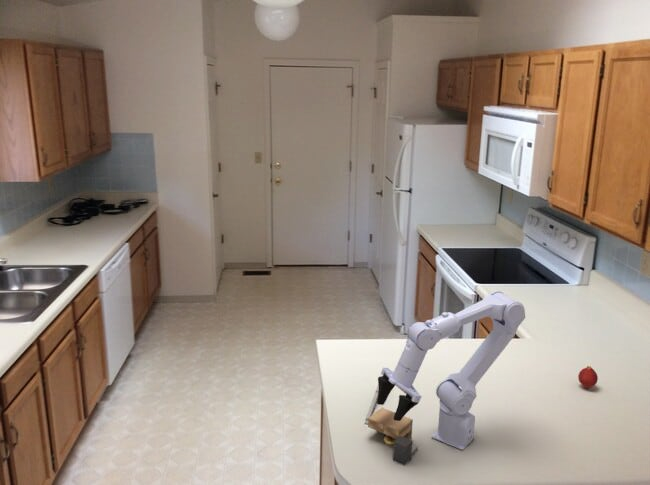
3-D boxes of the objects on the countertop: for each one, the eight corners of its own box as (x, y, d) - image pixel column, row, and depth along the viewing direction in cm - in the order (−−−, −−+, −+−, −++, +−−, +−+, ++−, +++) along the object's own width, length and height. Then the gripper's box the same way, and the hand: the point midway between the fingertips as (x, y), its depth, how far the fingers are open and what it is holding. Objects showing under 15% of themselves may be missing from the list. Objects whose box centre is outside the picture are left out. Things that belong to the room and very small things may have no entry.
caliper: (380, 391, 187) (380, 373, 186) (383, 391, 187) (384, 374, 185) (364, 424, 168) (365, 405, 167) (368, 425, 168) (368, 406, 166)
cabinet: (411, 439, 161) (412, 419, 160) (398, 451, 156) (399, 431, 154) (380, 426, 167) (381, 407, 166) (367, 437, 162) (368, 418, 160)
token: (399, 442, 161) (399, 438, 160) (392, 448, 158) (393, 444, 157) (388, 437, 163) (388, 433, 162) (381, 443, 160) (381, 439, 160)
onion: (581, 381, 195) (584, 360, 193) (598, 388, 191) (602, 366, 189) (574, 387, 191) (577, 365, 189) (591, 394, 187) (595, 371, 185)
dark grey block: (404, 465, 150) (405, 447, 149) (392, 460, 152) (393, 441, 151) (419, 450, 156) (420, 432, 155) (408, 445, 158) (409, 428, 157)
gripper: (381, 351, 156) (361, 396, 157) (415, 378, 144) (393, 426, 146) (399, 354, 160) (380, 398, 162) (434, 381, 148) (413, 428, 150)
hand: (388, 411), depth 154 cm, fingers open, 7 cm apart
